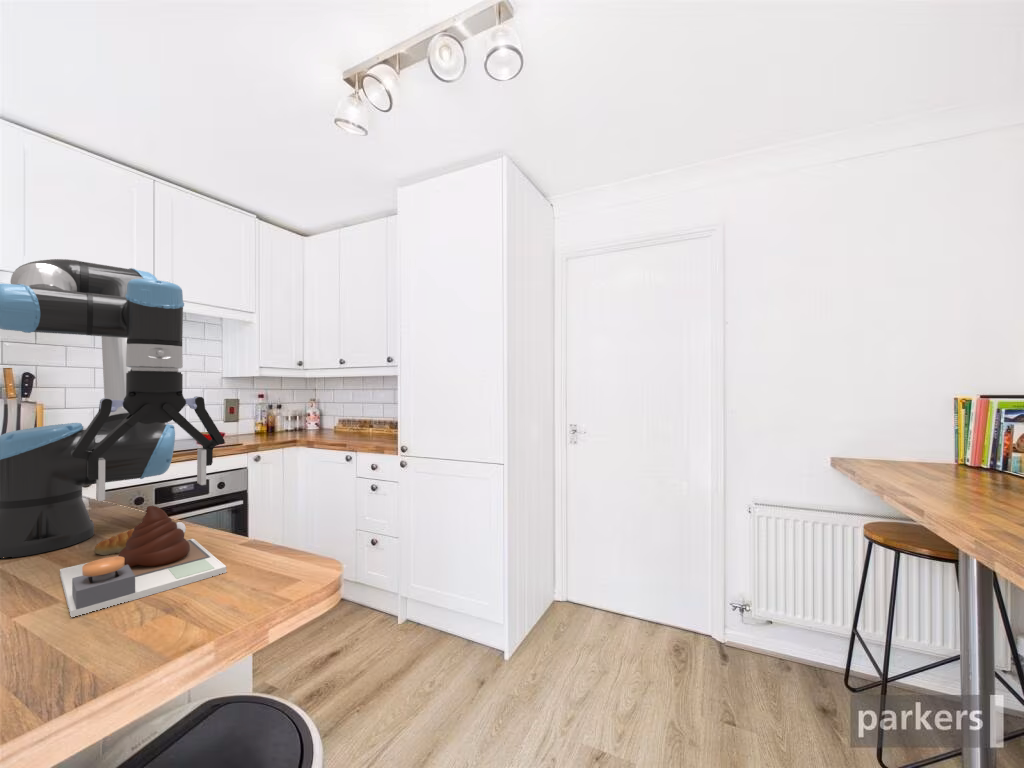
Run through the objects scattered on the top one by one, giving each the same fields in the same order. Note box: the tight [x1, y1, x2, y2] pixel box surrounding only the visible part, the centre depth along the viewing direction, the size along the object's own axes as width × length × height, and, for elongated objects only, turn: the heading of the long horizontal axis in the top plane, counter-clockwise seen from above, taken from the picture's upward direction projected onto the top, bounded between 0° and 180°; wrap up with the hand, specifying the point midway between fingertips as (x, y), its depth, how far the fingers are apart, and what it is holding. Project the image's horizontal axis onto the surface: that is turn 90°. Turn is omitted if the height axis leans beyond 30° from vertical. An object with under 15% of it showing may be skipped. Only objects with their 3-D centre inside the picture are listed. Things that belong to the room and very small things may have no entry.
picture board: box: [59, 538, 227, 618], centre depth 70 cm, size 20×18×4 cm
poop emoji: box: [117, 505, 190, 567], centre depth 73 cm, size 10×8×9 cm
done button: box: [82, 555, 125, 583], centre depth 61 cm, size 4×4×3 cm
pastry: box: [93, 527, 135, 556], centre depth 81 cm, size 9×7×4 cm
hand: (154, 491), depth 73 cm, fingers open, 13 cm apart
